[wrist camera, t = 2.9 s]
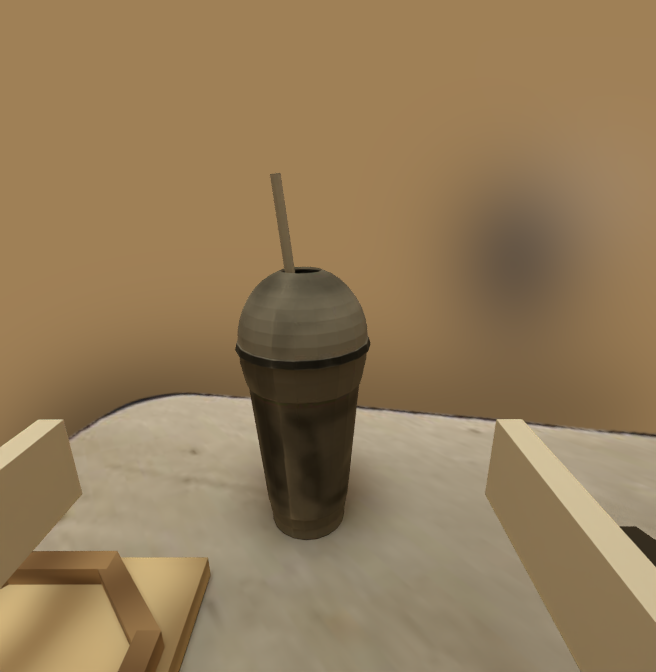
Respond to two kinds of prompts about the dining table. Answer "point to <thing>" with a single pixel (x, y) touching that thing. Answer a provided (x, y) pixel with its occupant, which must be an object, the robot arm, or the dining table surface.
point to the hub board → (99, 612)
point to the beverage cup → (303, 386)
